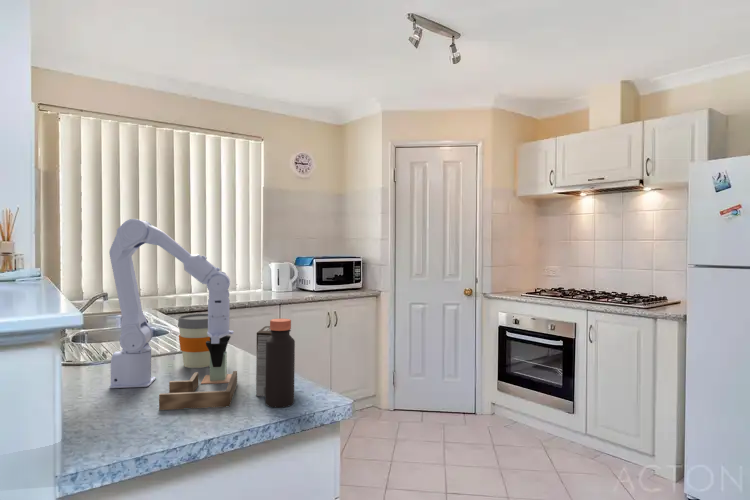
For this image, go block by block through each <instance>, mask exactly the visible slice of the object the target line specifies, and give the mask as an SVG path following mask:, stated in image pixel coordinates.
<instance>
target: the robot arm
mask: <svg viewBox="0 0 750 500" xmlns="http://www.w3.org/2000/svg"><path fill="white" fill-rule="evenodd" d="M144 244H147V245H148V244H149V245H153V246H154V245H155V246H159V248H161V249H163V250H164V251H166V252H167V253H168V254H170V255H171V256H173V257H174V258H175V259H177V260H178V261H179V262H181V263H182V264H183V268H184V271H185V272H186V273H188V274H189V276H191V277H193V279H195V280H197V281H198V282H199V283H201V284H202V285H206V289H207V290H208V300H207V314H208V332H207V335H208V336H209V337H210V341H206V346H207V348H208V349H209V352H210V355H211V360H212V365H213V367H221V365H222V361H223V355H224V352H227V348H228V344H229V341H230V339H231V335H234V333H235V331H234V330H230V311H231V310H230V309H231V308H230V306H231V305H230V304H231V303H230V290H229V289H230V286H231V280H230V277H229V275H228V274H227V273H226V272H224V271H221V268H220V267H216V266H215V265H214V264H212V263H211V262H210V261H208V260H207V258H208V257H207V256H206V255H205V254H202V255H201V254H199V253H195V254H192V253H190V252H189V251H188V250H187V249H185V248H184V247H183V246H181V244H179V243H178V242H177V241H176V240H175V239H173V238H172V237H171V236H170V235H169V234H167V233H166V232H165V231H164V230H161V229H160V228H158V227H156V226H155V225H152V223H150V222H149V221H147V220H143V219H139V218H129V219H127V220H126V221H124V222H123V223H122V224H121V225H120V226H119V227H118V228H117V229H116V234H115V237H114V239H113V242H112V244H111V246H110V249H109V259H110V264H111V269H112V273H113V274H112V275H113V278H114V283H115V288H116V293H117V294H116V295H117V298H118V302H119V303H118V304H119V309H120V314H121V322H120V330H121V331H120V332H121V334H120V336H119V345H120V347H121V350H120V351H119V350H118V351H116V350H115V351H114V352H113V354H112V355H111V359H110V360H111V361H110V386H109V389H119V388H121V389H122V388H143V387H148V388H149V386H150V385H151V384H153V382H154V381H155V380H156V379H157V377H156V376H152V347H151V345H150V344H149V343H150V342H151V341H152V339H153V336H154V335H153V328H151V326H150V325H149V324H148V321H147V317H146V316H145V314H144V312H143V308H142V302H141V299H140V298H141V297H140V293H139V287H138V282H137V276H136V272H135V267H134V261H133V257H132V256H133V255H134V254H135V253H136V251H137V250H138V249H140V247H142V246H143V245H144Z"/></svg>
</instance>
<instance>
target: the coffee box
mask: <svg viewBox="0 0 750 500" xmlns="http://www.w3.org/2000/svg"><path fill="white" fill-rule="evenodd" d="M270 336H271V332H270V325H266V326H264V327H262V328H261V329H260V330H259V331H257V332H256V355H255V356H256V357H255V358H256V362H255V363H256V365H255V367H256V371H255V373H256V374H255V375H256V378H255V381H256V382H255V386H256V387H255V394H256V395H255V396H256V397H265V387H266V341H267V339H268V338H269V337H270Z"/></svg>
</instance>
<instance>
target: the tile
mask: <svg viewBox="0 0 750 500" xmlns="http://www.w3.org/2000/svg"><path fill="white" fill-rule="evenodd" d="M231 376H232V373H227V376H226V379H225V380H215V381H210V374H205V375H204V377H203V379H202V380H201V382H200V384H201V385H207V384H208V385H215V384H229V381H230V378H231Z"/></svg>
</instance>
